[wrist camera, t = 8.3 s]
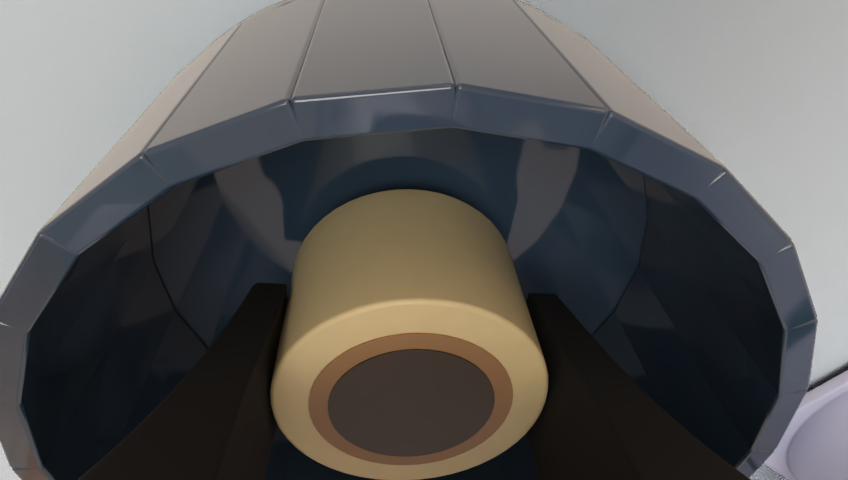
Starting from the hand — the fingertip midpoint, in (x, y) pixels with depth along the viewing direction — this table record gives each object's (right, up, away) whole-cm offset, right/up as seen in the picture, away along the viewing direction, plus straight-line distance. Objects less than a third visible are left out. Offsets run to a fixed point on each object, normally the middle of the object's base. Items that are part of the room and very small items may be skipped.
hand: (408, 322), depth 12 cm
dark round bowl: (0, +2, +2) cm, 3 cm away
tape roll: (0, +1, +1) cm, 1 cm away
